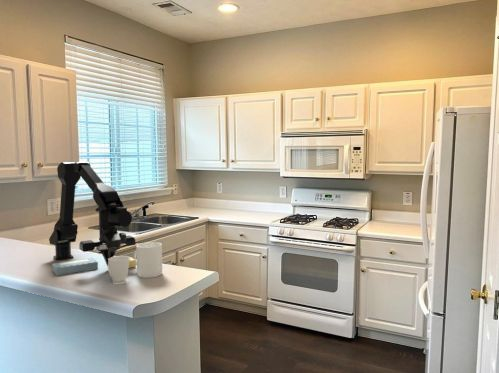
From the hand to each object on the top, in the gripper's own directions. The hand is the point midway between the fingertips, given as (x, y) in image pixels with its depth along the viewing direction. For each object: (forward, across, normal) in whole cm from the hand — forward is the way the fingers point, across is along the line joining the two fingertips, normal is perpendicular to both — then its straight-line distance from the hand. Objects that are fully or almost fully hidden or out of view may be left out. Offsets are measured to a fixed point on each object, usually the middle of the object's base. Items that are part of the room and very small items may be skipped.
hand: (108, 266), depth 143 cm
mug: (+1, +9, -14) cm, 16 cm away
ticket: (+1, -10, +8) cm, 12 cm away
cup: (+1, -2, -16) cm, 16 cm away
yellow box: (+1, +5, 0) cm, 5 cm away
